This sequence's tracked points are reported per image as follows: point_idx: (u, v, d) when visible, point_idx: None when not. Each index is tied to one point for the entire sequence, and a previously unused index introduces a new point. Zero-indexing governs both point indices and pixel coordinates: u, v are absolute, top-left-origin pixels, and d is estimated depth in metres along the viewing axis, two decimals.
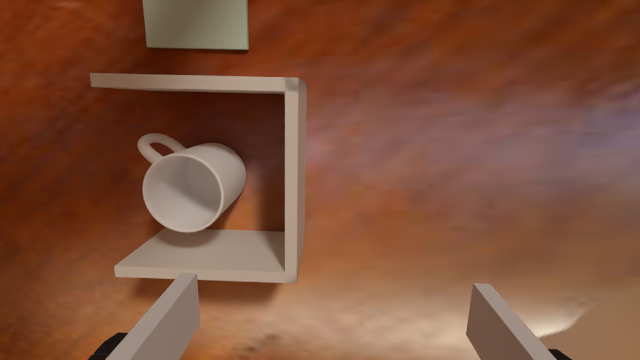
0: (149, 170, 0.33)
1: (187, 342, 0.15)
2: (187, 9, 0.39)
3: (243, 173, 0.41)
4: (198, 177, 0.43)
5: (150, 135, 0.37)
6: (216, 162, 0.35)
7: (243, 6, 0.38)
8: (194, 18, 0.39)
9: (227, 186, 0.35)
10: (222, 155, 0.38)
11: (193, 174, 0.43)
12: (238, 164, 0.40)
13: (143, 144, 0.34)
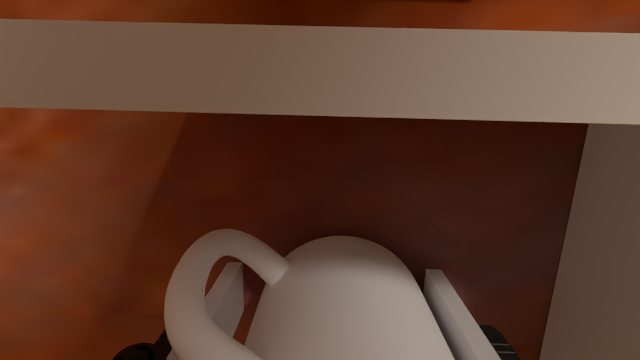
0: None
1: (236, 325, 0.16)
2: None
3: None
4: None
5: (203, 256, 0.11)
6: None
7: None
8: None
9: None
10: (418, 305, 0.12)
11: None
12: None
13: (189, 323, 0.09)
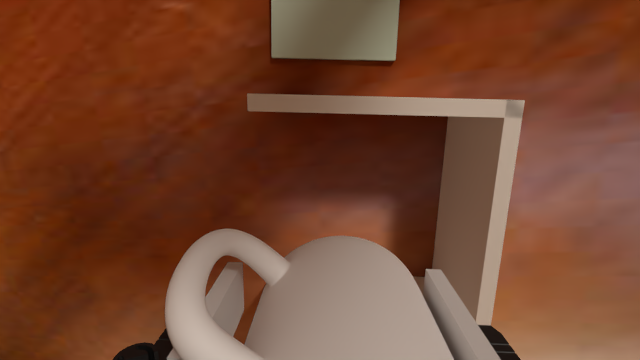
0: None
1: (236, 325, 0.16)
2: (326, 11, 0.31)
3: None
4: None
5: (203, 256, 0.11)
6: None
7: (395, 8, 0.31)
8: (333, 22, 0.32)
9: None
10: (418, 305, 0.12)
11: None
12: None
13: (189, 322, 0.09)
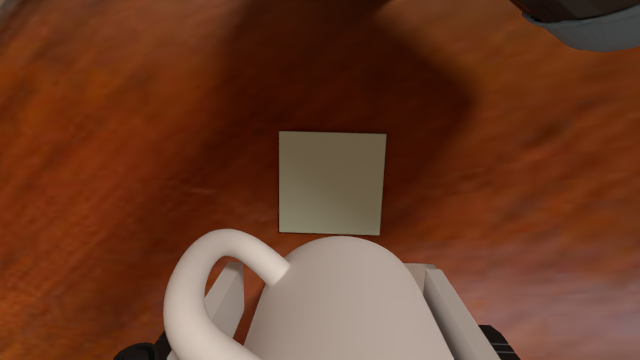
0: None
1: (236, 325, 0.16)
2: (323, 199, 0.39)
3: None
4: None
5: (202, 256, 0.11)
6: None
7: (379, 198, 0.39)
8: (329, 207, 0.39)
9: None
10: (418, 306, 0.12)
11: None
12: None
13: (188, 323, 0.09)
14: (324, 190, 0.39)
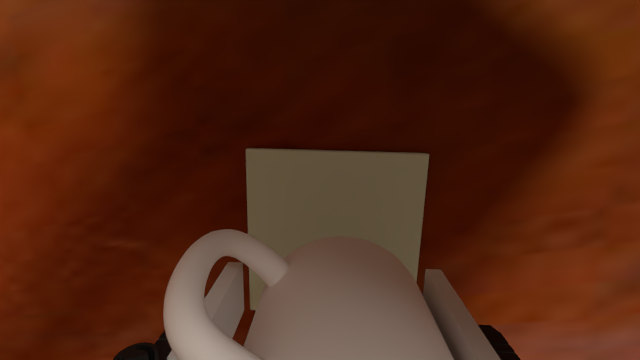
0: None
1: (236, 325, 0.16)
2: None
3: None
4: None
5: (202, 256, 0.11)
6: None
7: (413, 258, 0.23)
8: None
9: None
10: (418, 307, 0.12)
11: None
12: None
13: (188, 324, 0.09)
14: None
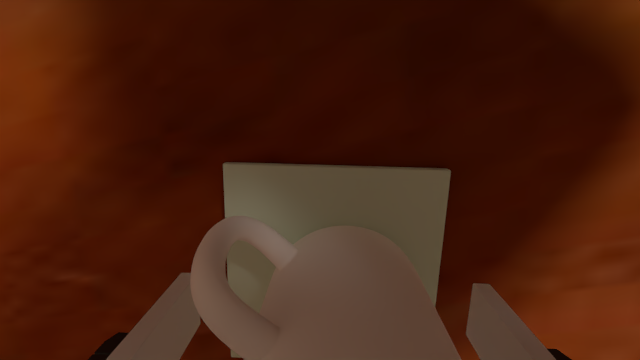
0: None
1: (187, 342, 0.15)
2: None
3: None
4: None
5: (222, 237, 0.12)
6: (450, 349, 0.11)
7: (430, 297, 0.19)
8: None
9: None
10: (416, 286, 0.14)
11: None
12: None
13: (213, 292, 0.10)
14: None
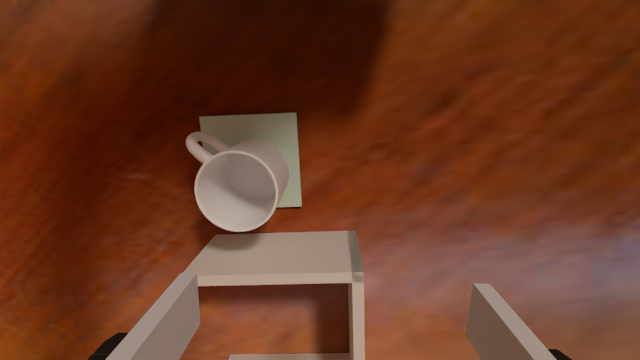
0: (201, 169, 0.32)
1: (187, 342, 0.15)
2: None
3: (287, 169, 0.40)
4: (240, 175, 0.42)
5: (196, 133, 0.36)
6: (267, 158, 0.34)
7: (296, 172, 0.42)
8: None
9: (279, 182, 0.34)
10: (269, 151, 0.37)
11: (234, 172, 0.42)
12: (283, 160, 0.39)
13: (192, 143, 0.33)
14: None
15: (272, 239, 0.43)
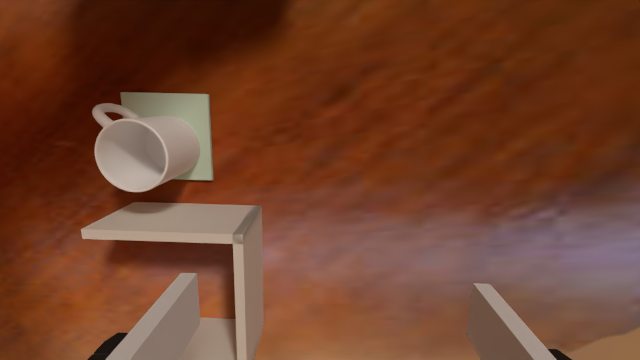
0: (100, 133, 0.37)
1: (187, 342, 0.15)
2: None
3: (196, 144, 0.45)
4: (156, 148, 0.47)
5: (106, 104, 0.40)
6: (164, 129, 0.38)
7: (207, 148, 0.47)
8: None
9: (173, 151, 0.38)
10: (173, 124, 0.41)
11: (151, 145, 0.47)
12: (190, 135, 0.44)
13: (97, 110, 0.38)
14: None
15: (182, 207, 0.47)
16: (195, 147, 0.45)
